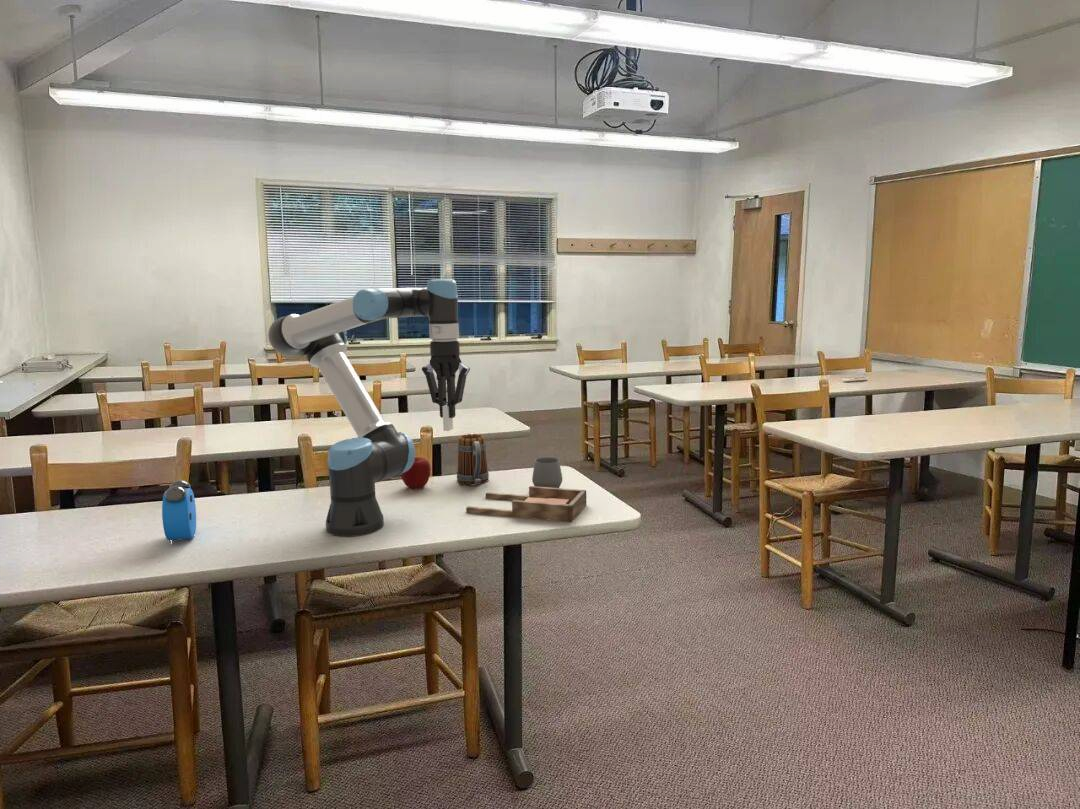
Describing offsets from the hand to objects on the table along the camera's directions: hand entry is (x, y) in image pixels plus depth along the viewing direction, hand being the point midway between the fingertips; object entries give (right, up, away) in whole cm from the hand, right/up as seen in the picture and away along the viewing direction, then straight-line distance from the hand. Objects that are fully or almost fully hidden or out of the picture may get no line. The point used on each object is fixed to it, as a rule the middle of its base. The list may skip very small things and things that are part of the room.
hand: (448, 429), depth 187 cm
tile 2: (+29, -24, +15) cm, 40 cm away
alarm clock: (-69, -29, -1) cm, 75 cm away
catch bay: (+20, -23, +18) cm, 36 cm away
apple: (-16, -20, +41) cm, 48 cm away
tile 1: (+23, -24, +16) cm, 37 cm away
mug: (+3, -19, +45) cm, 49 cm away
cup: (+26, -21, +34) cm, 48 cm away
